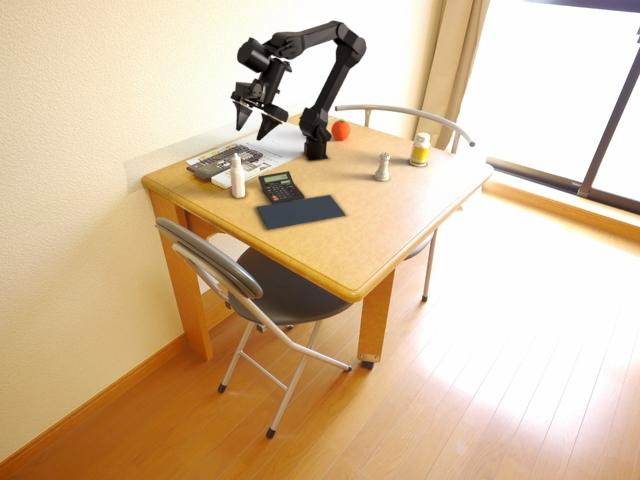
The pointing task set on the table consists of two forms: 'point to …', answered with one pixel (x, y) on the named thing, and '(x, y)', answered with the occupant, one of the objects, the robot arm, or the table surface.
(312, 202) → the placemat
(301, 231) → the table surface
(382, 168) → the rook chess piece
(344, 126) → the clementine
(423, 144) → the supplement bottle
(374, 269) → the table surface
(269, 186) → the calculator
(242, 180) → the eye dropper bottle
